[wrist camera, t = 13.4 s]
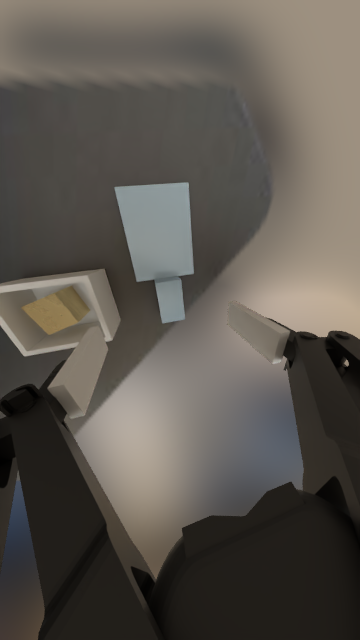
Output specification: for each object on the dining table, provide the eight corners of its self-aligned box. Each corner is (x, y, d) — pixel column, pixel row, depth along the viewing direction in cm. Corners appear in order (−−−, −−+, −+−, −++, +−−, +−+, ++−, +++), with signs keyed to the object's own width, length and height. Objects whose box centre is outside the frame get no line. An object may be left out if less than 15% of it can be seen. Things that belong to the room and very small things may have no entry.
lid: (115, 189, 17) (107, 175, 14) (186, 185, 18) (194, 170, 15) (145, 316, 24) (145, 326, 21) (194, 308, 25) (201, 316, 22)
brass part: (65, 321, 21) (48, 335, 18) (44, 297, 19) (20, 307, 16) (90, 310, 21) (78, 322, 18) (71, 285, 19) (54, 293, 16)
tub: (54, 331, 22) (24, 356, 17) (23, 278, 18) (-28, 289, 13) (120, 320, 23) (112, 340, 18) (104, 268, 20) (87, 275, 14)
